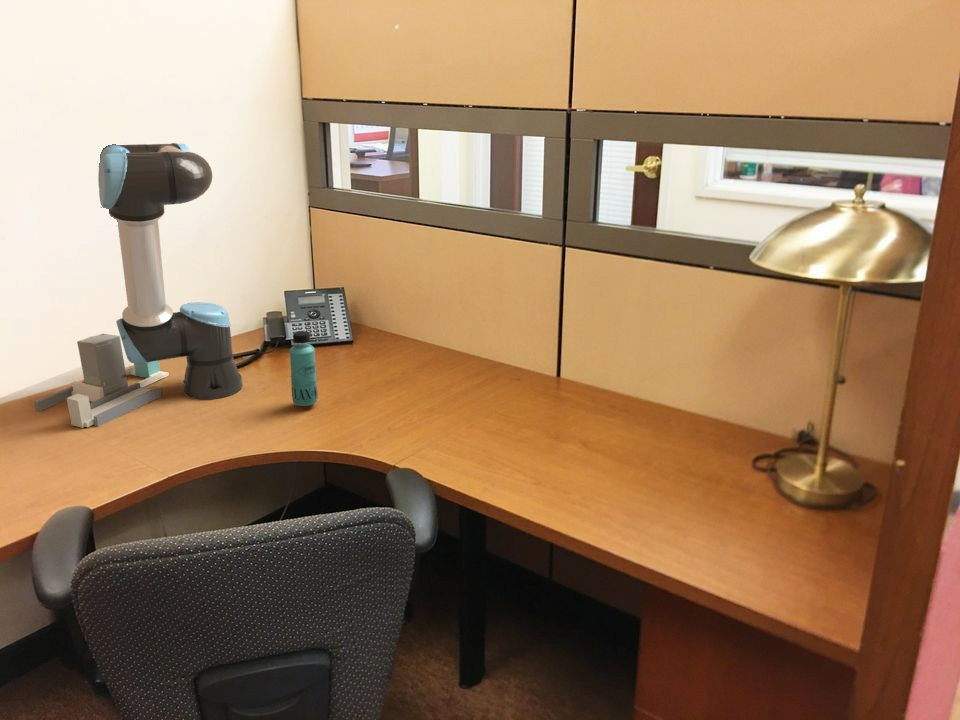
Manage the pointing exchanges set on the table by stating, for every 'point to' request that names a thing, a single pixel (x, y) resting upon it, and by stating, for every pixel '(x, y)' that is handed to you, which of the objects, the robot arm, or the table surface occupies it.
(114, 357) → the skincare box
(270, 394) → the table surface
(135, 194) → the robot arm
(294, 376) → the beverage bottle
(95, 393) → the white and teal frame
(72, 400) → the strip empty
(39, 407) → the lane bed
